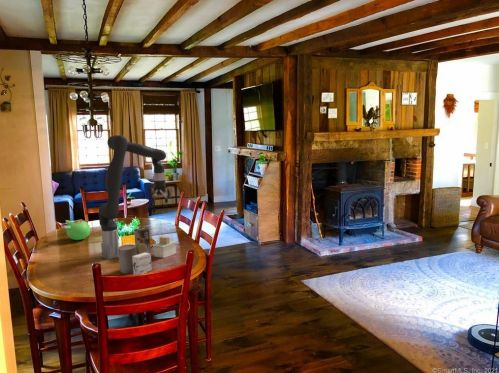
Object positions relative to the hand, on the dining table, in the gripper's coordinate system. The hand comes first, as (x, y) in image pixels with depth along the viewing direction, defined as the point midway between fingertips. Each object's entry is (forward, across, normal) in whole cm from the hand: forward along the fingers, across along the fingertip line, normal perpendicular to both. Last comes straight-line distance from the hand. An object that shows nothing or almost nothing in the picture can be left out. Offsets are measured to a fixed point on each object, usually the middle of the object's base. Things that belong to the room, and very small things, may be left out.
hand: (160, 203), depth 270 cm
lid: (+22, +12, -25) cm, 35 cm away
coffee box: (+28, -2, -26) cm, 38 cm away
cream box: (+28, +12, -25) cm, 39 cm away
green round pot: (+29, -64, +3) cm, 70 cm away
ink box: (+29, +13, -61) cm, 69 cm away
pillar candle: (+29, +2, -54) cm, 61 cm away
